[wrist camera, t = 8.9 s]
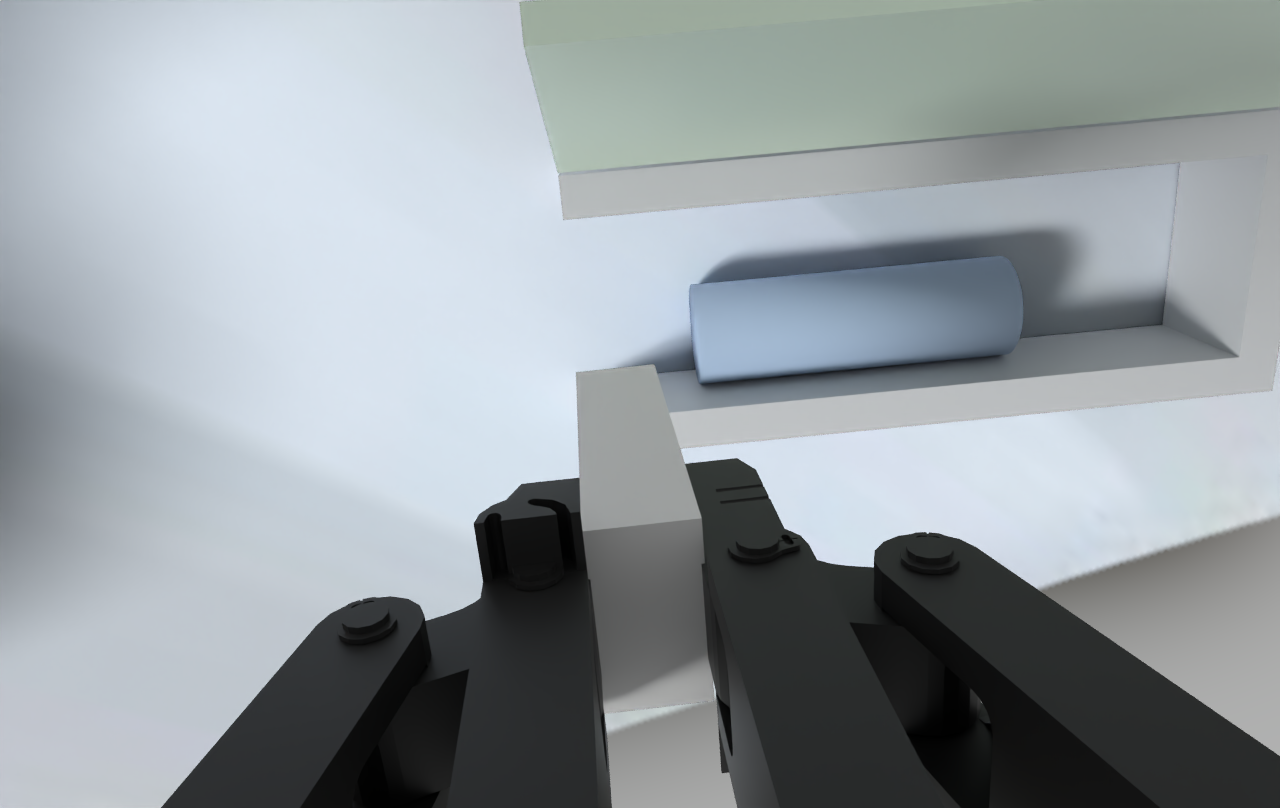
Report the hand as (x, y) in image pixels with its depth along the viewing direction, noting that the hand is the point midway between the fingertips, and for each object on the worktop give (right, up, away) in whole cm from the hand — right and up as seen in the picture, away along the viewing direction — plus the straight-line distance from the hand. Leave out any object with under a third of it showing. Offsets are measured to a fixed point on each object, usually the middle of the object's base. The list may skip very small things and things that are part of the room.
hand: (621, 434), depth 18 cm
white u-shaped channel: (+8, +5, +13) cm, 16 cm away
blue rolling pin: (+7, +5, +12) cm, 15 cm away
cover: (+8, +8, +3) cm, 12 cm away
